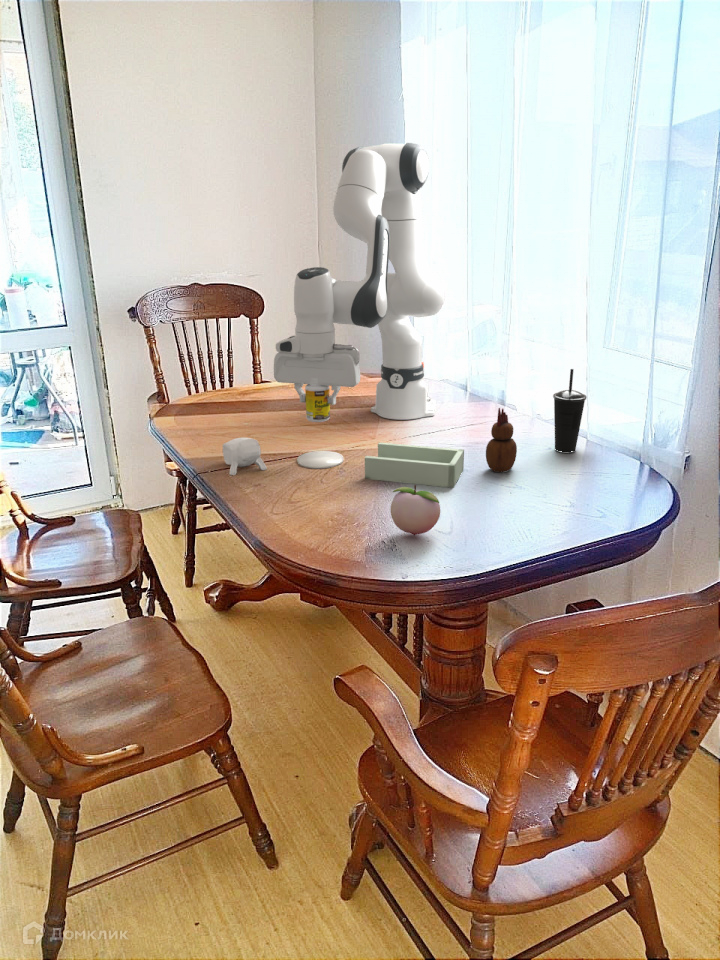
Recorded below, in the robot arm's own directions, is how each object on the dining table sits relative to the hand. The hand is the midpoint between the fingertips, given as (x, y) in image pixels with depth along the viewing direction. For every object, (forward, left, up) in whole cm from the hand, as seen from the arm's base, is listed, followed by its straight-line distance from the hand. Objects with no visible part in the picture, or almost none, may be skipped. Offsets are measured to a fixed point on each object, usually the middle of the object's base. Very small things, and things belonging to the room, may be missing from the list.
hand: (317, 403), depth 170 cm
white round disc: (0, 0, -14) cm, 14 cm away
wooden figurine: (-5, +42, -14) cm, 45 cm away
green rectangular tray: (+3, +24, -14) cm, 28 cm away
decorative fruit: (+34, +32, -14) cm, 49 cm away
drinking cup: (-23, +55, -14) cm, 61 cm away
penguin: (+10, -15, -15) cm, 23 cm away
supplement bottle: (0, 0, -4) cm, 4 cm away
